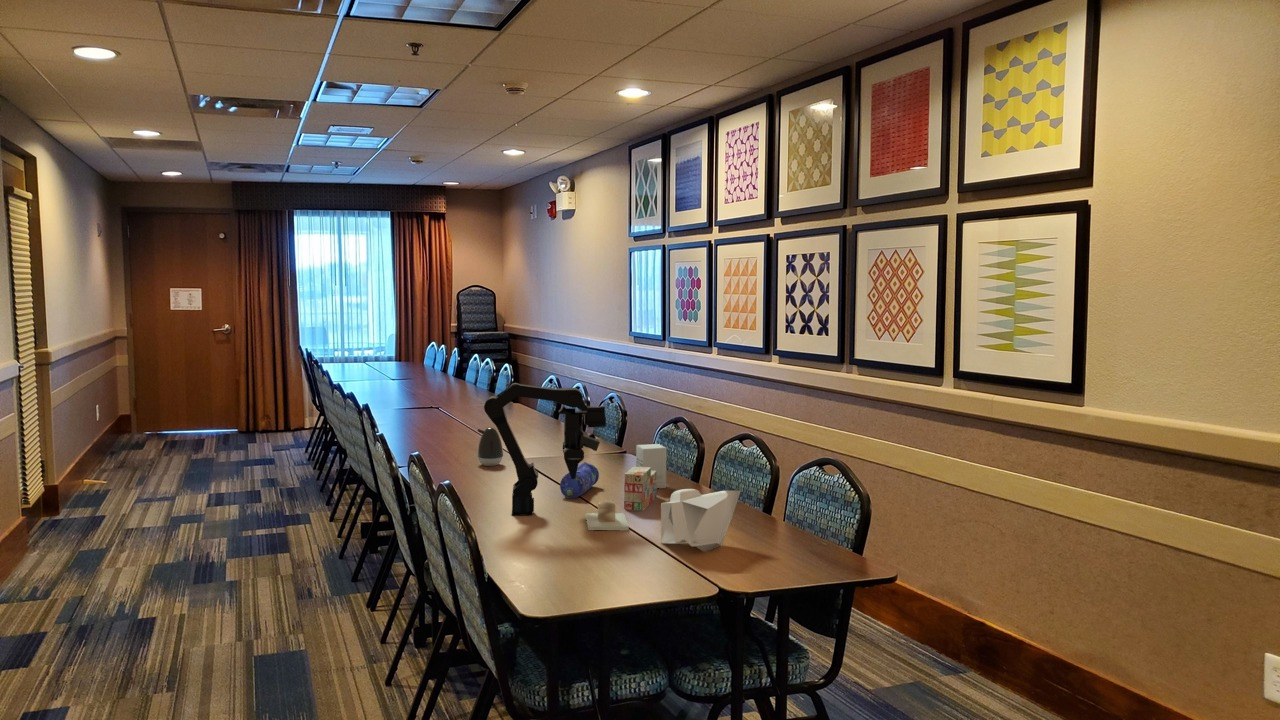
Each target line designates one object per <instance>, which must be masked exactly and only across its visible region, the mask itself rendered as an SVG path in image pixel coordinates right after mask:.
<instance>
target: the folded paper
mask: <svg viewBox="0 0 1280 720" xmlns="http://www.w3.org/2000/svg"><path fill="white" fill-rule="evenodd" d="M741 492H742V491H741V490H721V491H715V492H710V493H706V494H702V493H701V492H700V491H699V490H698V489H696V488H695V489H694V488H684V489H683V488H682V489H679V490H674V491H673V492H672V493H671V495H670V499H669V501H667V502H661V503H660V533H661V534H660V536H661V537H660V538H661V541H660V543H661V544H679V543H687V544H688V545H689V546H691V547H696V549H699V550H701V551H702V552H704V553H706V552H709V551H711V550H713V548H714V549H716V548H718V547H721V546H722V545H723V542H724V539H725V537H726V534H727V532H728V529H729V526H730V523H731V520H732V519H733V515H734V513H735V510H736V507H737V503H738V501H739V497H740V496H741V495H740V494H741ZM708 550H709V551H708ZM705 551H706V552H705Z"/></svg>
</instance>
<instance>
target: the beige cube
mask: <svg viewBox="0 0 1280 720" xmlns="http://www.w3.org/2000/svg"><path fill="white" fill-rule="evenodd" d="M597 513H598V521H599V522H615V513H616V503H615V501H597Z"/></svg>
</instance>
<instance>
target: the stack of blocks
mask: <svg viewBox="0 0 1280 720" xmlns="http://www.w3.org/2000/svg"><path fill="white" fill-rule="evenodd" d="M623 485H624V487H623V488H624V490H623V491H624V493H623V494H624V501H623V503H624V504H623V510H624V509H625V511H634V510H636V511H637V512H643V511H644V510H645V509H646V508H647V507H648V506H649V505H650V504H651V503H652V501H654V500H655V499H656V498H657V480H656V471H651V467H636V465H635V466H632V467H631V468H630V469H629V470H628V471H626V472H625V473H624V484H623ZM649 503H650V504H649Z"/></svg>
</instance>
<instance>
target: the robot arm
mask: <svg viewBox="0 0 1280 720" xmlns="http://www.w3.org/2000/svg"><path fill="white" fill-rule="evenodd" d="M517 397H520V398H527V399H535V400H541V401H551V402H554V403H558V404H560V405H562V407H560V409H559V410H558V414H559V415H563V417H564V420H563V421H564V422H563V423H564V424H563V425H564V426H563V433H564V434H563V435H564V436H563V438H564V440H563V442H562V453H563V459H564V462H565V465H566V467H567V470H568V473H570V476H571V478H572V479H575V477H576V472H577V468H578V466H579V465H580V463H581V462H583V461H584V459H585V451H584V450H583V449H584V447H585V448H588V449H591V450H592V451H594V452H597V451H598V448H599V446H600V443H601V441H600V440H599V439H598V438H596V434H594V433H591V432H590V433H589V434H588V435H587V434H584V430H583V422H584V425H586V426H587V428H597V429H598V428H602V429H603V428H606V423H607V419H606V418H607V417H606V407H605V405H599V406H588V404H587V403H586V402H585V401H584V398H583V393H582V391H580V389H578V388H577V387H562V388H561V387H560V388H559V387H558V388H551V387H542V386H536V385H529V384H522V383H518V382H514V383H511V384H510V386H508V387H507V388H505V389H504V390H503V391H500V392H499V393H498V394H496V395H492V396H489V397H488V398H487V399H486V400H485V403H484V406H483V410H484V412H485V413H486V415H487V416H488V418H489V420H490V421H491V422H492V423H493V425H494V426H495V427H496V430H497V432H498V434H499V436H500V438H501V440H502V441H503V444H504V445H505V448H506V450H507V453H508V454H509V456H510V459H511V461H512V463H513V465H514V468H515V471H516V475H517V479H518V480H517V481H516V482H515V483H514V484H513V486H512V493H511V494H512V495H511V496H512V497H511V501H512V503H511V516H532V515H533V512H535V497H533V493H532V491H535V489H536V488H537V487H538V483H539V482H538V481H539V480H538V479H539V472H538V471H537V470H536V468H535V464H534V462H531V463H529V462H528V461H527V460H526V458H525V455H524V454H523V451H522V448H521V446H520V445H519V443H518V440H517V438H516V436H515V434H514V432H513V430H512V427H511V425H510V423H509V422H508V418H507V413H506V409H505V406H507V405H508V404H510V402H512V401H513V400H514V399H516V398H517ZM576 409H578V410H576Z"/></svg>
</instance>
